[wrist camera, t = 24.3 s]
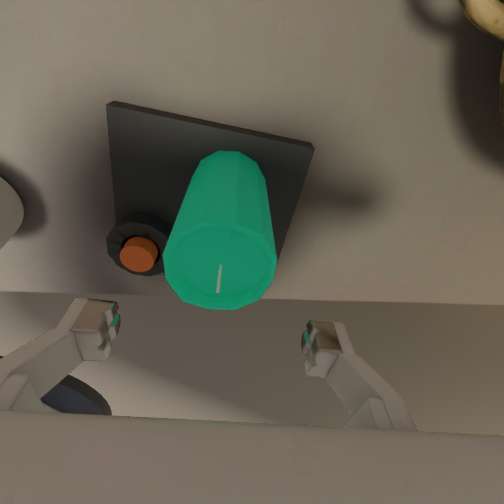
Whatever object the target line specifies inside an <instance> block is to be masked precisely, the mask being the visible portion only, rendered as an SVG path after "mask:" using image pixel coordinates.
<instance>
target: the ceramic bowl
mask: <svg viewBox="0 0 504 504" xmlns="http://www.w3.org/2000/svg"><path fill="white" fill-rule="evenodd" d="M459 3H460V5H461V8H462V10H463V12H464V14H465V16H466V18H467V19H468V20H469V21H470V22H471V23H472V24H474V25H475V26H476V27H477V28H478V29H479V30H481V31H483V32H485V33H487V34H489V35H491V36H493V37H495V38H497V39H499V40H501V41H504V4H503V3H501V2H500V1H499V0H459ZM499 101H500V112H501V120H502V125H503V129H504V50H503V57H502V65H501V72H500V80H499Z"/></svg>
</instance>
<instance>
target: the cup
mask: <svg viewBox="0 0 504 504" xmlns="http://www.w3.org/2000/svg"><path fill="white" fill-rule="evenodd" d="M23 216H24V208H23V204H22V202H21V199H20V198H19V196H18V194H17V193H16V191H15V190H14V189H13V188H12V187H11V186H10V185H9V184H8V183H7V182H6V181H5V180H4V179H2V178H1V177H0V249H1V248H2V247H3V246H4V245H5V244H6V243H7V241H8V240H9V239H10V238H11V237H12V236H13V235H14V233H15V232H16V231H17V230H18V228H19V227H20V225H21V223H22V221H23Z"/></svg>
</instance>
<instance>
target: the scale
mask: <svg viewBox="0 0 504 504" xmlns="http://www.w3.org/2000/svg"><path fill="white" fill-rule="evenodd" d="M106 109H107V121H108V132H109V143H110V155H111V166H112V178H113V189H114V201H115V212H116V223H117V224H116V225H115V226H114V228H113V229H112V231H111V232H110V234H109V235H108V236H107V238H106V243H107V251H108V254H109V256H110V257H111V258H112V259H113V261H114V262H115V263H116V264H117V265H118V266H119V267H121V268H123V269H125V270H126V271H128V272H130V273H132V274H137V275H144V276H153V275H157V274H160V273H164V272H165V270H164V262H163V252H164V250H165V247H166V244H167V242H168V239H169V236H170V234H171V231H172V229H173V226H174V223H175V221H176V218H177V215H178V213H179V210H180V207H181V205H182V202H183V200H184V197H185V194H186V192H187V189H188V186H189V184H190V181H191V178H192V176H193V174H194V172H195V170H196V169H197V167H198V165H199V163H200V161H201V160H202V159H204V158H206V157H208V156H209V155H211V154H213V153H215V152H217V151H239V152H241V153H243V154H244V155H246V156H247V157H249V158H250V159H252V160H254V161H255V162H257V164H258V166H259V168H260V170H261V172H262V174H263V176H264V178H265V181H266V188H267V195H268V202H269V208H270V215H271V222H272V229H273V236H274V242H275V249H276V256H277V261H278V258H279V255H280V252H281V249H282V246H283V243H284V240H285V237H286V234H287V231H288V228H289V225H290V222H291V219H292V216H293V213H294V210H295V206H296V203H297V200H298V197H299V194H300V191H301V188H302V185H303V182H304V179H305V176H306V173H307V170H308V167H309V164H310V161H311V158H312V155H313V152H314V149H315V148H314V147H313V145H312V144H311V143H308V142H304V141H299V140H294V139H290V138H285V137H280V136H276V135H271V134H266V133H261V132H257V131H252V130H247V129H243V128H238V127H233V126H229V125H224V124H219V123H214V122H210V121H205V120H200V119H196V118H191V117H186V116H182V115H177V114H172V113H167V112H163V111H158V110H153V109H149V108H144V107H139V106H135V105H130V104H125V103H120V102H116V101H113V102H111V103H108V104H106ZM135 236H142V237H146V238H148V239H150V240H152V241H153V242H154V243H155V245H156V246H157V249H158V255H157V257H156V260H155V262H154V265H153V267H152V268H151V269H149V270H148V271H144V272H136V271H132V270H130V269H128V268H127V267H125V266H124V265H123V264H122V262H121V260H120V252H121V250H122V248H123V247H124V245H125V243H126V242H127V240H128V239H130V238H132V237H135Z"/></svg>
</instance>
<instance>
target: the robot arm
mask: <svg viewBox="0 0 504 504" xmlns="http://www.w3.org/2000/svg"><path fill="white" fill-rule="evenodd" d="M117 310H118V303H117V302H113V301H106V300H97V299H87V298H79V297H77V298H76V299H75V300H74V301H73V302H72V304H71V305H70V307H69V308H68V310H67V311H66V313H65V314H64V316H63V317H62V319H61V320H60V322H59V323H58V325H57V326H56V328H55V329H54V330H49V331H47V332H45V333H43V334H42V335H40V336H38V337H37V338H35V339H33V340H32V341H30V342H28V343H26V344H25V345H23V346H21V347H20V348H18V349H16V350H15V351H13V352H11V353H10V354H8V355H6V356H5V357H3V358H1V359H0V504H504V436H500V435H482V434H461V433H442V432H423V431H417V429H416V426H415V424H414V422H413V420H412V417H411V415H410V413H409V411H408V408H407V406H406V404H405V402H404V399H403V398H402V397H401V396H400V395H399V394H398V393H397V392H396V391H395V390H394V389H393V388H392V387H391V386H390V385H389V384H388V383H387V382H386V381H385V380H384V379H382V377H380V376H379V375H378V374H377V373H376V372H375V371H374V370H373V369H372V368H371V367H370V366H369V365H368V364H367V363H366V362H365V361H364V360H363V359H362V358H361V357H360V356H359V355H355V352H354V350H353V347H352V344H351V342H350V339H349V336H348V333H347V330H346V328H345V325H344V324H343V323H338V322H329V321H317V320H310V321H308V323H307V330H306V331H304V332H303V335H302V340H301V349H302V353H303V354H304V355H305V357H306V359H305V361H304V365H305V370H306V375H307V376H311V377H320V378H325V379H326V381H327V382H328V384H329V385H330V386H331V388H332V389H333V390H334V392H335V393H336V394H337V396H338V397H339V398H340V400H341V401H342V403H343V404H344V405H345V407H346V408H347V410H348V411H349V412H350V414H351V415H352V416H353V417H352V418H351V420H350V421H349V422H348V424H347V425H346V426H345V427H325V426H305V425H285V424H266V423H248V422H228V421H209V420H208V421H207V420H189V419H169V418H148V417H130V416H111V415H91V414H71V413H62V412H60V411H58V410H56V409H54V408H52V407H50V406H48V405H46V404H44V403H42V401H41V399H40V398H41V397H43V396H44V395H45V394H46V393H47V392H48V391H50V390H51V389H52V388H53V387H54V386H55V385H57V384H58V383H59V382H60V381H61V380H62V379H63V378H65V377H66V376H67V375H68V374H69V373H70V372H72V371H73V370H74V369H75V368H76V367H77V366H79V365H80V364H81V363H82V362H83V361H103V362H105V361H106V359H107V357H108V355H109V352H110V350H111V348H112V346H111V341H112V340H113V339H115V338H116V336H117V334H118V331H119V327H120V315H119V314H118V313H117Z"/></svg>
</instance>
